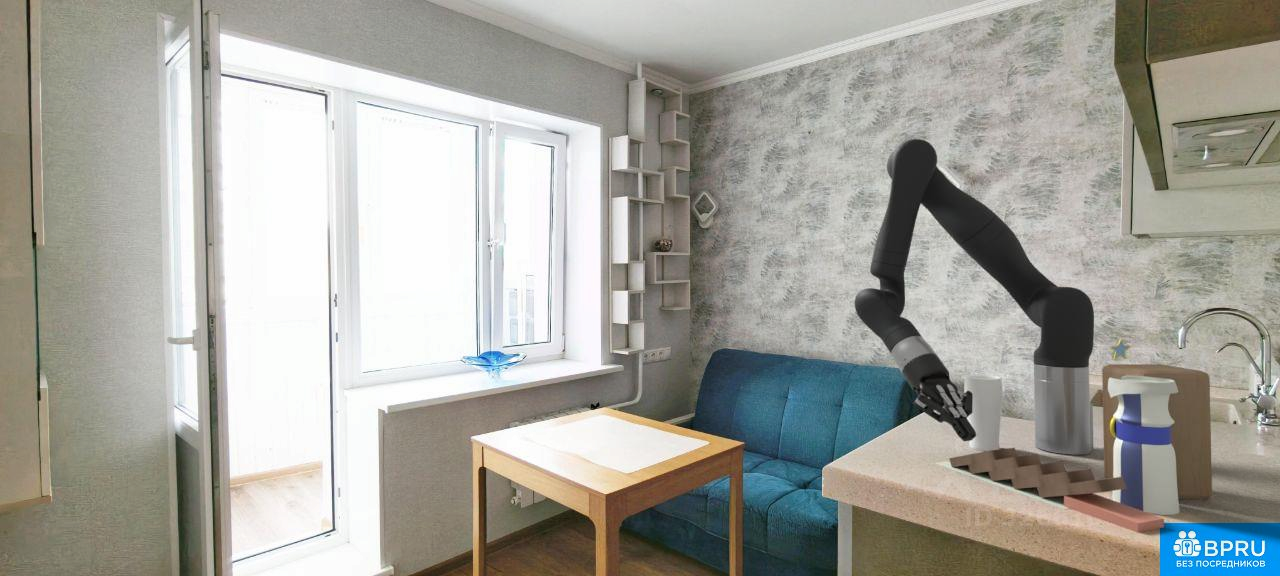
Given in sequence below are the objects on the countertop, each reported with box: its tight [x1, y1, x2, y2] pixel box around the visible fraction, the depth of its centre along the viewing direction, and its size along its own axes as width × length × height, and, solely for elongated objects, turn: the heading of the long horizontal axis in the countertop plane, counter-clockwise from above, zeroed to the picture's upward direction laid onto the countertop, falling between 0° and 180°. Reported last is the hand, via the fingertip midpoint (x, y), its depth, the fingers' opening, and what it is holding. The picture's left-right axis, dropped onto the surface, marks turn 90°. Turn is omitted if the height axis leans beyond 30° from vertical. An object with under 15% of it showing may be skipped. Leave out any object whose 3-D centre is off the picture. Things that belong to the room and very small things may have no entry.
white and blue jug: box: [1108, 338, 1180, 516], centre depth 88 cm, size 8×9×25 cm
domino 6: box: [1064, 493, 1165, 533], centre depth 84 cm, size 5×2×10 cm
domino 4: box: [1011, 468, 1096, 489], centre depth 93 cm, size 5×2×10 cm
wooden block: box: [1101, 363, 1213, 501], centre depth 96 cm, size 10×10×20 cm
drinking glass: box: [963, 374, 1003, 452], centre depth 121 cm, size 7×7×15 cm
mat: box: [934, 460, 1071, 510], centre depth 100 cm, size 7×25×1 cm, turn 17°
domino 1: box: [948, 447, 1018, 467], centre depth 105 cm, size 5×2×10 cm
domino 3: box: [988, 460, 1068, 481], centre depth 97 cm, size 5×2×10 cm
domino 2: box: [968, 453, 1042, 474], centre depth 101 cm, size 5×2×10 cm
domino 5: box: [1037, 477, 1127, 498], centre depth 88 cm, size 5×2×10 cm
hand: (970, 438), depth 107 cm, fingers closed
